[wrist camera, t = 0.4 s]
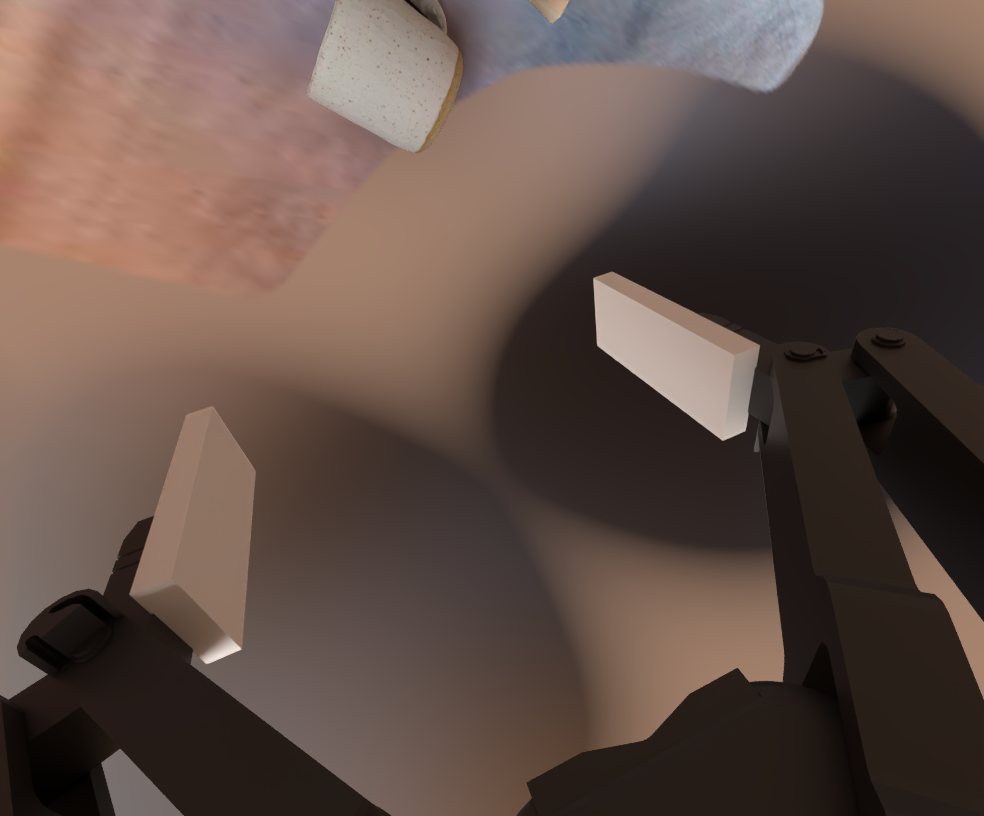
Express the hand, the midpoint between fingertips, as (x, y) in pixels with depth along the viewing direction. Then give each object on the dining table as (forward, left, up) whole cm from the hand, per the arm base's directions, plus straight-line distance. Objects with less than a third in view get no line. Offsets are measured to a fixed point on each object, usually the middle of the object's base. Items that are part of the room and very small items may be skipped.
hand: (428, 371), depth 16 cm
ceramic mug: (-14, +9, -24) cm, 29 cm away
